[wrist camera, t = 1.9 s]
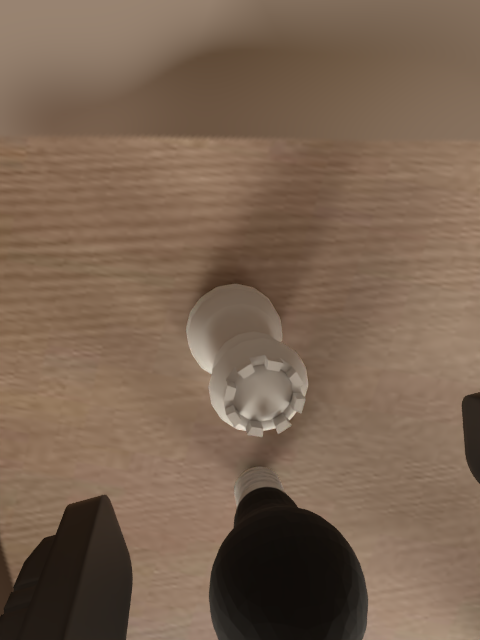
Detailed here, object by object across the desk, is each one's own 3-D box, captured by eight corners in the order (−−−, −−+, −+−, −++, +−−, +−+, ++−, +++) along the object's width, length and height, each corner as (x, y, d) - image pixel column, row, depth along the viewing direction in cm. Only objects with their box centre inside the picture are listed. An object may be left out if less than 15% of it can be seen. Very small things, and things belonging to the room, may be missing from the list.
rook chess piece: (289, 351, 21) (352, 432, 13) (205, 383, 21) (221, 485, 13) (260, 267, 20) (312, 305, 12) (171, 302, 20) (167, 362, 12)
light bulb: (309, 423, 22) (407, 585, 13) (305, 517, 24) (391, 724, 14) (198, 432, 22) (214, 611, 12) (201, 528, 23) (218, 756, 13)
